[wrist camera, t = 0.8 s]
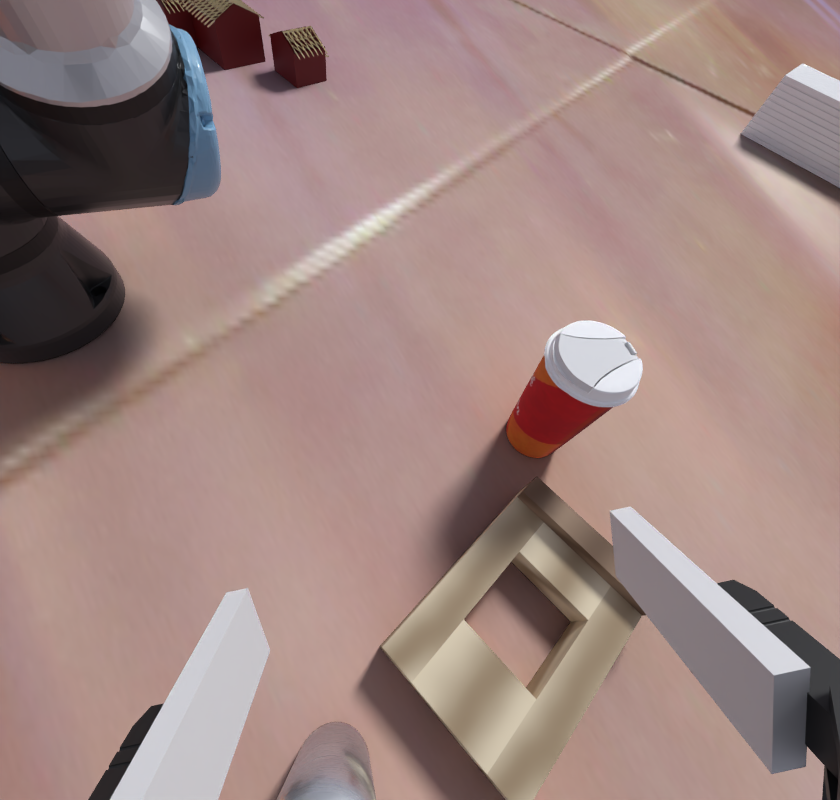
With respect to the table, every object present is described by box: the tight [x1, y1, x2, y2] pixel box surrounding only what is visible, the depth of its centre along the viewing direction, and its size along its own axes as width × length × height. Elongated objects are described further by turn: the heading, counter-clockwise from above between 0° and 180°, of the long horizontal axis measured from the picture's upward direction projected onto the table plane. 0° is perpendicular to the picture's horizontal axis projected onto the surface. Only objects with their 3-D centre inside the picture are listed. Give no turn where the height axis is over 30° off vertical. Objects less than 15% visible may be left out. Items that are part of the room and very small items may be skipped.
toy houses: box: [156, 0, 329, 88], centre depth 72 cm, size 45×21×10 cm, turn 43°
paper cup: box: [506, 321, 643, 458], centre depth 38 cm, size 8×8×14 cm
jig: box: [380, 477, 646, 800], centre depth 32 cm, size 13×18×4 cm
